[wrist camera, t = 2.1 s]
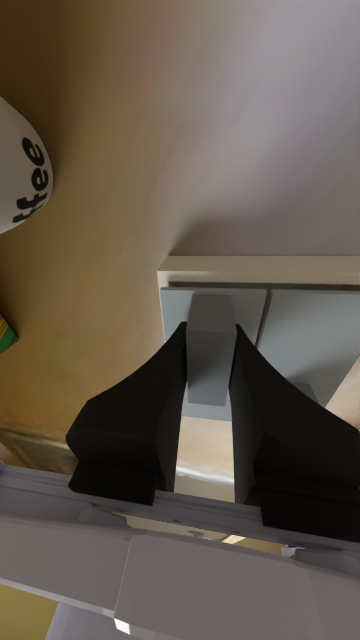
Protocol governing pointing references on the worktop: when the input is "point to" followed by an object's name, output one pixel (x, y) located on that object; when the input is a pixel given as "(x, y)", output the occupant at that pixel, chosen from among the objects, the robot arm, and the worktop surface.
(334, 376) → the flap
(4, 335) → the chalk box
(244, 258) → the carton
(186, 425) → the worktop surface
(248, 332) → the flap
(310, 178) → the worktop surface
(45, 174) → the cup
